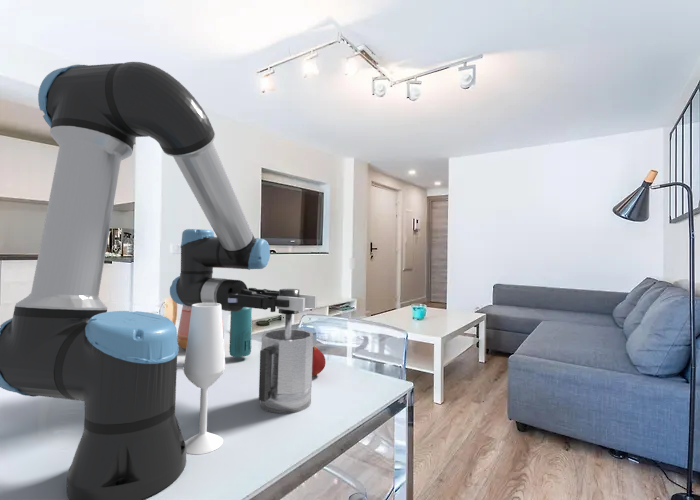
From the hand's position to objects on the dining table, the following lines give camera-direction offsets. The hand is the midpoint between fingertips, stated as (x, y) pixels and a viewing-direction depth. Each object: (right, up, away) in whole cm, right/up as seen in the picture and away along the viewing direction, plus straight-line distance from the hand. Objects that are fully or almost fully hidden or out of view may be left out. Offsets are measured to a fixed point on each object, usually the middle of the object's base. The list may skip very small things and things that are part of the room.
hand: (309, 303), depth 79 cm
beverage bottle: (-25, -22, +33) cm, 46 cm away
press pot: (-6, -22, +1) cm, 23 cm away
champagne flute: (-17, -22, -16) cm, 32 cm away
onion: (-1, -23, +20) cm, 30 cm away
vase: (-41, -21, +43) cm, 63 cm away
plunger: (-5, -17, +2) cm, 18 cm away
